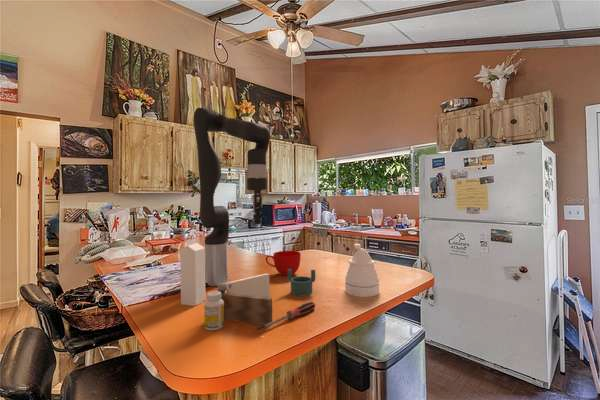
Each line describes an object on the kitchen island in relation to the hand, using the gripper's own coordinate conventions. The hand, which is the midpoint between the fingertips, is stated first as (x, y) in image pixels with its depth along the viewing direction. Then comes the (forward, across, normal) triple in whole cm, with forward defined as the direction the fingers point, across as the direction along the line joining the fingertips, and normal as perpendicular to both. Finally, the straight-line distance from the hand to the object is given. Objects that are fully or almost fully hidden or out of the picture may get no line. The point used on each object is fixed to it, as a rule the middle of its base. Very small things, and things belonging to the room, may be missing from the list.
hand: (257, 223), depth 109 cm
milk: (+27, +2, -23) cm, 36 cm away
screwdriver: (+28, +24, +8) cm, 37 cm away
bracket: (+27, 0, +17) cm, 32 cm away
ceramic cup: (+27, -28, +13) cm, 41 cm away
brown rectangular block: (+27, +20, -5) cm, 34 cm away
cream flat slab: (+27, +11, -5) cm, 29 cm away
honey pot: (+27, +4, +40) cm, 48 cm away
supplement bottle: (+27, +24, -14) cm, 39 cm away
